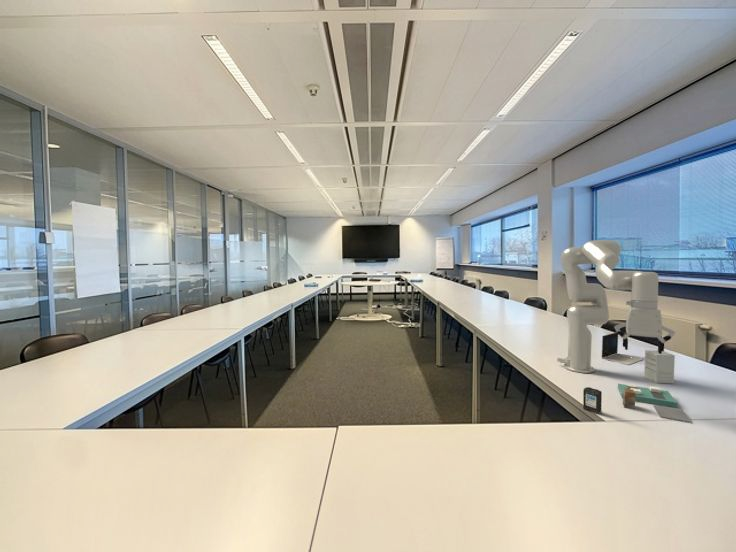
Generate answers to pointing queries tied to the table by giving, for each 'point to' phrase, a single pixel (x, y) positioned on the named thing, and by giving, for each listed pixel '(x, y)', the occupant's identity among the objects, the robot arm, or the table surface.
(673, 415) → the mat
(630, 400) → the brown cardboard box
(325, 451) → the table surface
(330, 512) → the table surface
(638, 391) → the switch tab left
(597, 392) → the ink cartridge
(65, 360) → the table surface
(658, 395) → the switch panel
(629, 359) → the laptop
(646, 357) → the supplement box
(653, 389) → the switch tab right
